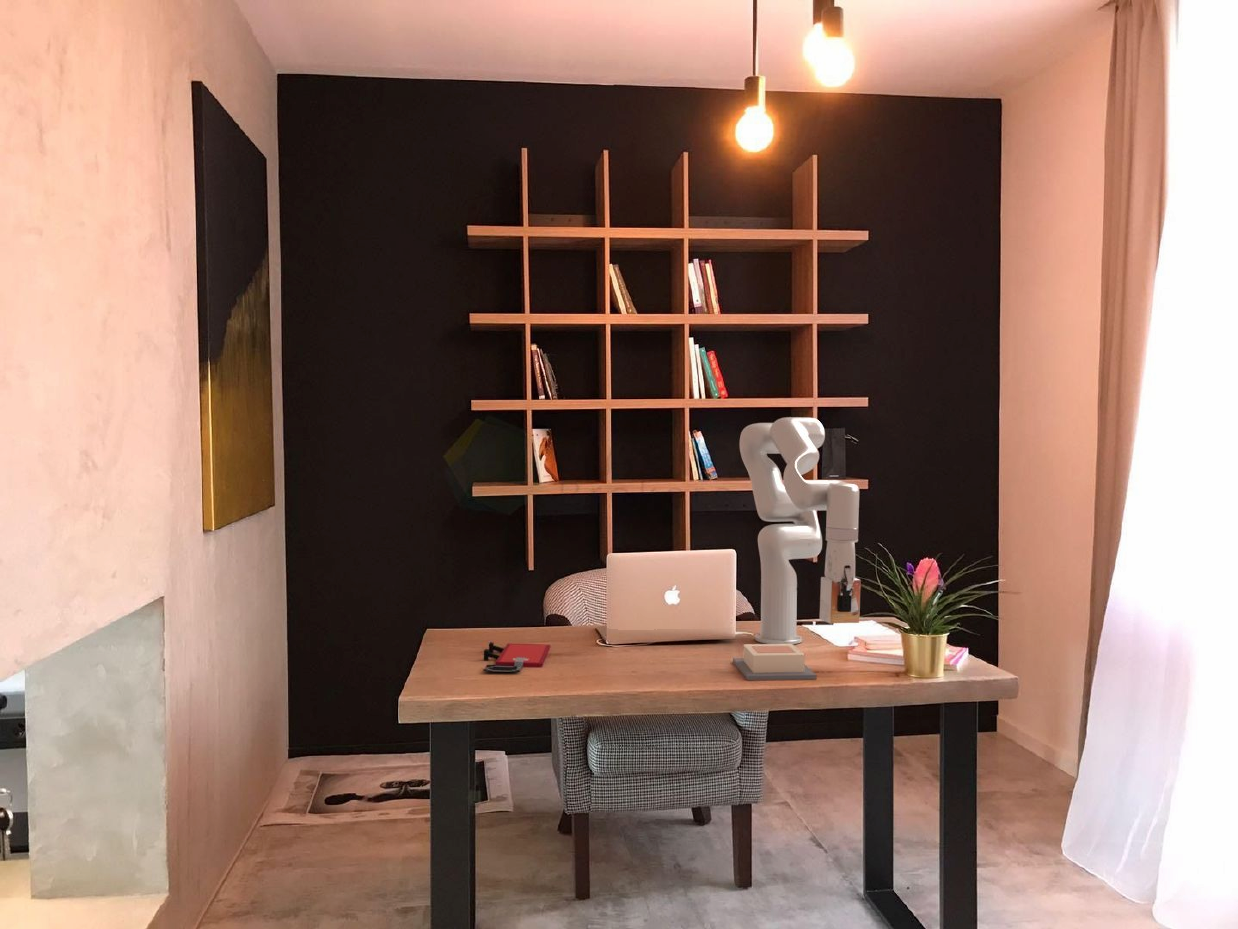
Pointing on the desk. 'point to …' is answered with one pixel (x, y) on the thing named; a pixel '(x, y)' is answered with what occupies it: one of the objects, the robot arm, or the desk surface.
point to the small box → (831, 599)
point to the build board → (772, 675)
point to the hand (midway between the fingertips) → (839, 608)
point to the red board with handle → (516, 656)
